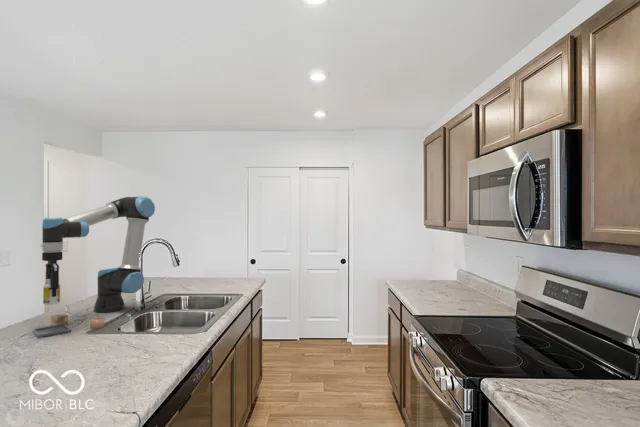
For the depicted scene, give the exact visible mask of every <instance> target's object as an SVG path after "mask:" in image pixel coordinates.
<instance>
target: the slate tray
mask: <svg viewBox="0 0 640 427" xmlns="http://www.w3.org/2000/svg"><path fill="white" fill-rule="evenodd" d="M68 332H70V333H71V332H72V329H71V328H70V327H69V325H65V324H60V325H54V326H51V325H50V326H44V327H43V326H42V327H38V328H32V333H33V334H34V336H35V337H36V338H37V339H42V337H43V338H48V336H49V337H53V335H54V336H58V334H59V335H63V333H65V334H69V333H68Z"/></svg>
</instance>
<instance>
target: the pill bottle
mask: <svg viewBox="0 0 640 427" xmlns="http://www.w3.org/2000/svg"><path fill="white" fill-rule="evenodd" d="M45 283H46V284H45ZM45 283H44V284H43V288H42V289H43V290H42V291H43V294H42V296H43V297H42V304H43V305H47V306H48V305H52V304H50V290H49V288H51V285H50V279H46V278H45ZM60 302H61V284H60V283H59V288H58V293H57V303H56V304H59V303H60ZM56 304H55V305H56Z"/></svg>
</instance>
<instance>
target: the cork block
mask: <svg viewBox="0 0 640 427" xmlns="http://www.w3.org/2000/svg"><path fill="white" fill-rule="evenodd" d="M60 324H65V325H66V326H69V314H66V313H59V314H54V315H51V316H50V326H54V325H60Z"/></svg>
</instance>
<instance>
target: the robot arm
mask: <svg viewBox="0 0 640 427" xmlns="http://www.w3.org/2000/svg"><path fill="white" fill-rule="evenodd" d="M155 211H156V207H155V204H154V202H153V200H152V199H151V198H149V197H146V196H142V195H141V196H126V197H122V198H118V199H116V200H112V201H110V202H107V203H106V204H105V205H103V206H100V207H96V208H94V209H91V210H88V211H85V212H81V213H79V214H76V215H72V216H68V217H66V218H62V217H45V218H43V219H42V227H41V228H42V229H41V230H42V244H41V245H40V247H41V248H42V251H43V252H42V253H41V261H43V262H47V263H45V280H46V279H50V285H51V288H49V290H50V304H51V305H56V303H57V293H58V288H59V284H60V279H59V278H60V277H59V276H60V266H59V263H58V261H62V260H63V246H64V245H63V244H64V241H63V240H64V239H69V238H85V237H87V236H88V235H89V233H90V226H94V225H96V224H98V223H101V222H102V223H103V222H104V221H107V220H110V219H113V220H114V219H118V218H125V219H126V220H127V221H128V224H127V230H126V236H125V242H124V248H123V252H122V253H123V255H122V259H121V265H119V266H118V267H114V268H104V269H100V270H98V272H97V298H96V300H95V303H94V306H93V312H94V313H113V312H117V311H122V310H124V309H125V307H126V306H125V305H126V304H125V301H124V299H123V296H122V294H123V293H125V294H135V293H137V292H139V290H141V289H142V287H143V285H144V283H145V277H144V274H143V273H142V268H141V267H140V260H139V257H140V258H141V252H142V247H143V241H144V240H143V239H144V235H145V226H146V224H147V223H149V222H150V221H149V219H150V218H151V217H152V216H153V215H154V214H155ZM139 253H140V254H139ZM45 284H46V282H45V283H44V285H45ZM57 304H58V303H57Z"/></svg>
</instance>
